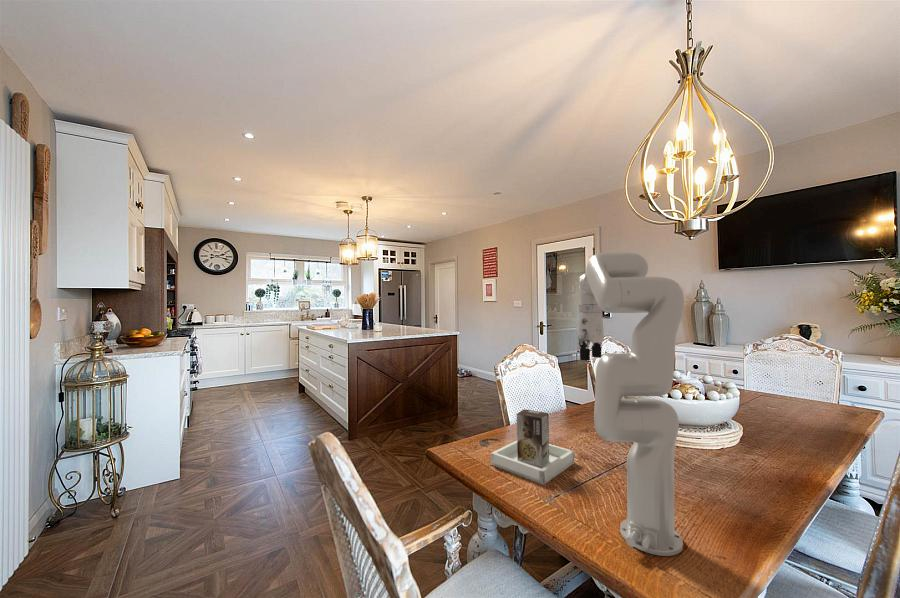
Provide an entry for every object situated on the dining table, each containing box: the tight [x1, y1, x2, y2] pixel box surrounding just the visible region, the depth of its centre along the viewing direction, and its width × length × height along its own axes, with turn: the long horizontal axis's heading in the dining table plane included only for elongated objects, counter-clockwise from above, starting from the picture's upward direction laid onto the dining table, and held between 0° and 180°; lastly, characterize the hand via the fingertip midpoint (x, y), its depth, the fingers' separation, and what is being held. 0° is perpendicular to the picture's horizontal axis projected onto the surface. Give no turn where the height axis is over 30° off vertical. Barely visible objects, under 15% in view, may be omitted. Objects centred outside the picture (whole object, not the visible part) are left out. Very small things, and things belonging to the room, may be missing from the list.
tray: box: [490, 440, 575, 486], centre depth 123 cm, size 20×19×4 cm
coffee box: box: [516, 408, 550, 468], centre depth 122 cm, size 9×6×16 cm
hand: (590, 358), depth 128 cm, fingers open, 9 cm apart
